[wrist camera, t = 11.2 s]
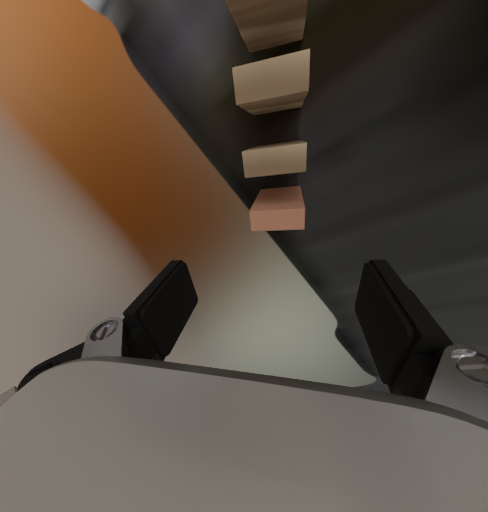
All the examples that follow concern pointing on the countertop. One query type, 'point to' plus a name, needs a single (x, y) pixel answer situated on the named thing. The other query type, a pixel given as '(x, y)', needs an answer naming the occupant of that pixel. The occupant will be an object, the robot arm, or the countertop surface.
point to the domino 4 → (278, 209)
